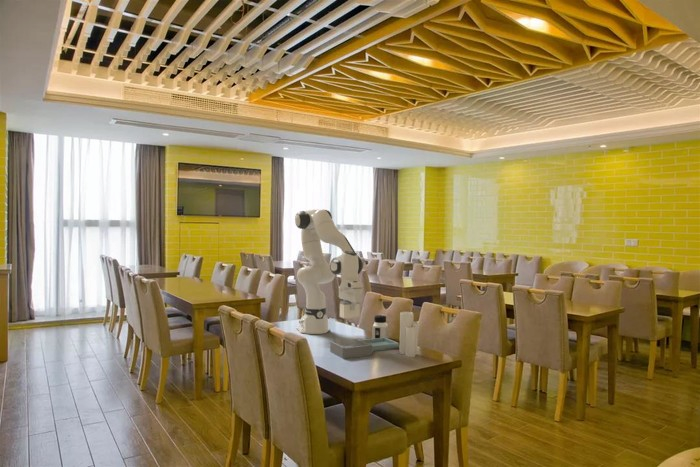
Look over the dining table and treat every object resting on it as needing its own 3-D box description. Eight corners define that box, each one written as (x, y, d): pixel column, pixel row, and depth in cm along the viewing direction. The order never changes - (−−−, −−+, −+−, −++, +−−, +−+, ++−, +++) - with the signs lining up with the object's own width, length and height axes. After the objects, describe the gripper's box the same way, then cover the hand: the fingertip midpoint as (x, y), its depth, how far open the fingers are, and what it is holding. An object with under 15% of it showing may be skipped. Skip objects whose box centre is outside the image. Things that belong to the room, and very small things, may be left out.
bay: (330, 351, 246) (330, 341, 245) (357, 348, 253) (357, 338, 253) (343, 359, 233) (343, 348, 232) (371, 355, 240) (371, 345, 240)
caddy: (339, 317, 255) (339, 301, 255) (355, 315, 259) (355, 300, 259) (343, 318, 251) (344, 302, 251) (359, 317, 255) (359, 301, 255)
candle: (396, 351, 247) (397, 312, 247) (408, 350, 250) (409, 311, 250) (409, 357, 237) (410, 316, 237) (421, 356, 240) (422, 315, 240)
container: (385, 340, 271) (386, 317, 271) (372, 339, 273) (372, 316, 272) (387, 337, 279) (388, 314, 278) (374, 336, 280) (374, 313, 280)
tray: (355, 345, 259) (355, 340, 259) (384, 341, 268) (384, 337, 268) (368, 351, 247) (369, 346, 247) (398, 347, 255) (399, 343, 255)
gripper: (335, 281, 263) (335, 306, 263) (353, 285, 245) (353, 313, 245) (346, 280, 266) (346, 306, 266) (364, 284, 247) (364, 312, 248)
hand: (349, 309), depth 255 cm, fingers closed on caddy, 5 cm apart
